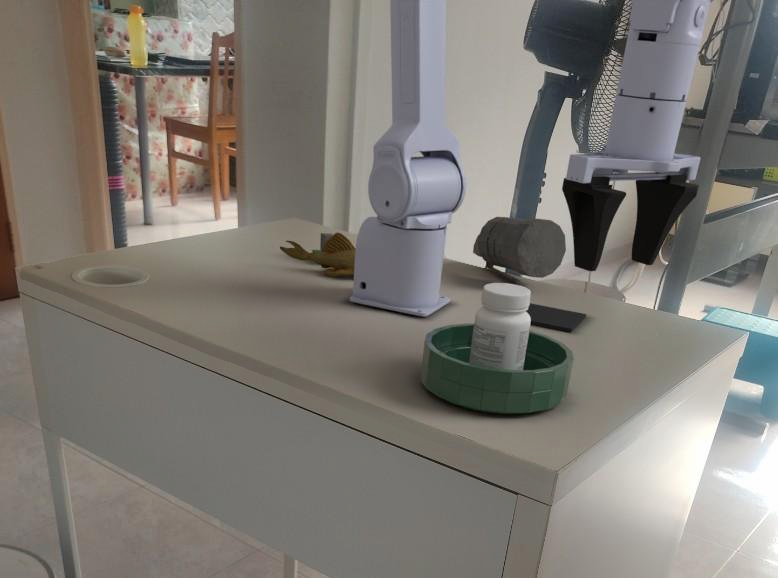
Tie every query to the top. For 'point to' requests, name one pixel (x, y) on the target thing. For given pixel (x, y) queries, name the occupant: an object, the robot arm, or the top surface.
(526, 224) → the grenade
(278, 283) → the top surface
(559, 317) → the mat
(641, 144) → the robot arm
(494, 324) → the pill bottle
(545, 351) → the bowl
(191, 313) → the top surface
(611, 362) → the top surface
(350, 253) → the fish
